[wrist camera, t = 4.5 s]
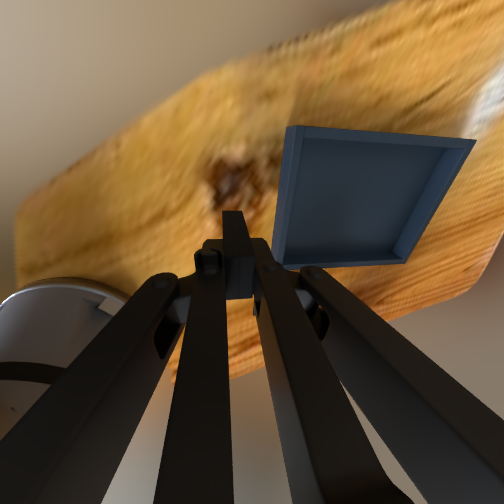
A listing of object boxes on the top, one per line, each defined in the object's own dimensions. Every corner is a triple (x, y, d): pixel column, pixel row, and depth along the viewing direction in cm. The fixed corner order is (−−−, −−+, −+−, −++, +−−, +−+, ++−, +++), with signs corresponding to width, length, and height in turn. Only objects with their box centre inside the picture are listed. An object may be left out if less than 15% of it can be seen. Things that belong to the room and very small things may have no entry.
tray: (269, 259, 24) (275, 270, 22) (286, 127, 17) (296, 125, 15) (390, 253, 27) (405, 263, 25) (449, 139, 20) (478, 139, 18)
